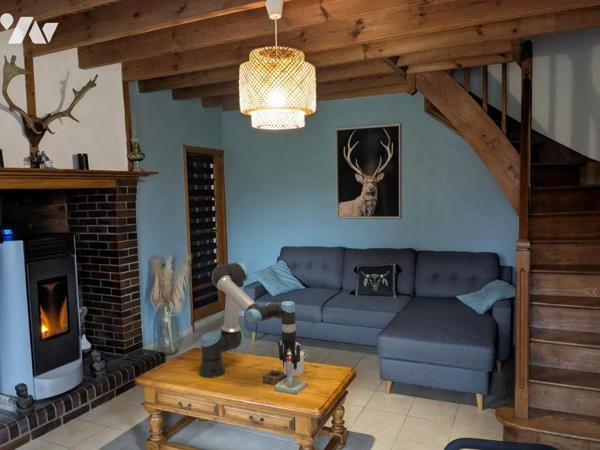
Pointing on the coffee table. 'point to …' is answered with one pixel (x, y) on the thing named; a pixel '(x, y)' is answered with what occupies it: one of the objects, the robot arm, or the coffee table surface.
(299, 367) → the candle holder
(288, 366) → the pin
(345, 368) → the coffee table surface
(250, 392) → the coffee table surface
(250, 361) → the coffee table surface
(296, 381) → the tray
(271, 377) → the socket block
